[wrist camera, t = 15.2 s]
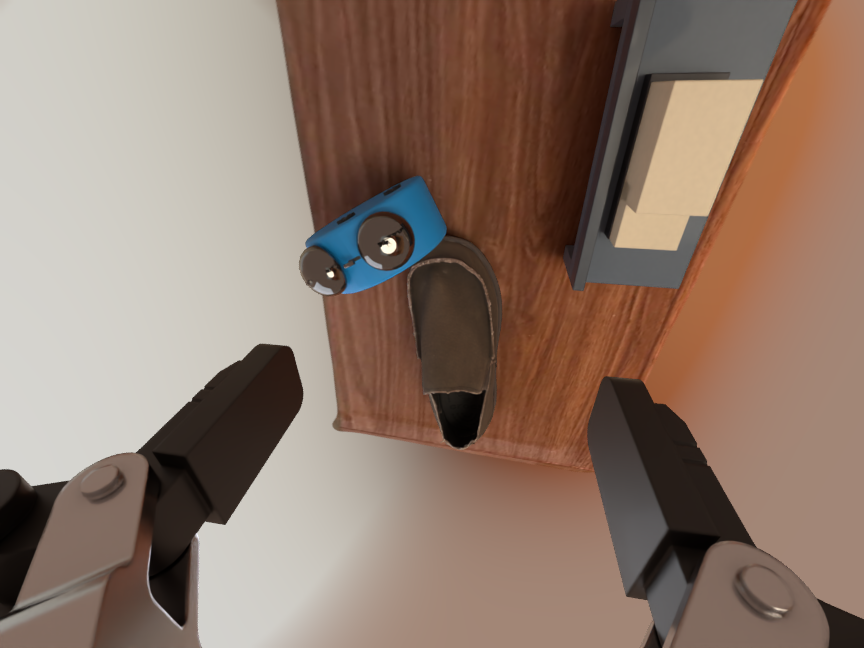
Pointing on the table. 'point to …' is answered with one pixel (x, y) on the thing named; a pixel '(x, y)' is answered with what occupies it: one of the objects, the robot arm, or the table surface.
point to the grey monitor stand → (636, 56)
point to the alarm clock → (373, 240)
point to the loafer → (457, 336)
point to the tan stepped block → (677, 155)
